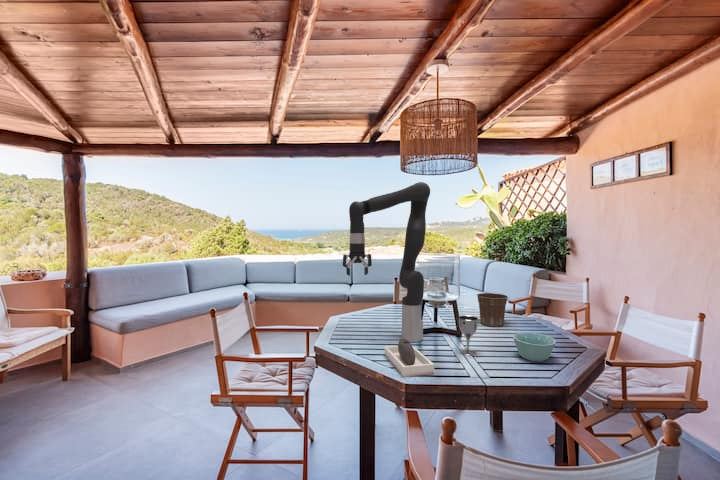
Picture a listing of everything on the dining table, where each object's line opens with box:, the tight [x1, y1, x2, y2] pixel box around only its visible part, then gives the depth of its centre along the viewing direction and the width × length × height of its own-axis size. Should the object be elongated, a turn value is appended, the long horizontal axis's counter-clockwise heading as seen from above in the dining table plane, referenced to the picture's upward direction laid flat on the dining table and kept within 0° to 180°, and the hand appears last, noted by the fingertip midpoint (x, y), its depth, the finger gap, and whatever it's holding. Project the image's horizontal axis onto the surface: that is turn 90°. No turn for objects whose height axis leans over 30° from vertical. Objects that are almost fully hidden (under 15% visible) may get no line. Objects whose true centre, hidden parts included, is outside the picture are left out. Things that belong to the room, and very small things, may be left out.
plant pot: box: [476, 292, 509, 328], centre depth 195 cm, size 16×16×16 cm
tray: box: [384, 345, 435, 378], centre depth 137 cm, size 12×22×4 cm, turn 14°
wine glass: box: [458, 315, 479, 356], centre depth 150 cm, size 8×8×15 cm
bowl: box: [512, 332, 557, 363], centre depth 144 cm, size 16×16×8 cm
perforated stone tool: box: [397, 338, 415, 366], centre depth 137 cm, size 15×5×7 cm, turn 5°
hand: (357, 275), depth 172 cm, fingers open, 8 cm apart
